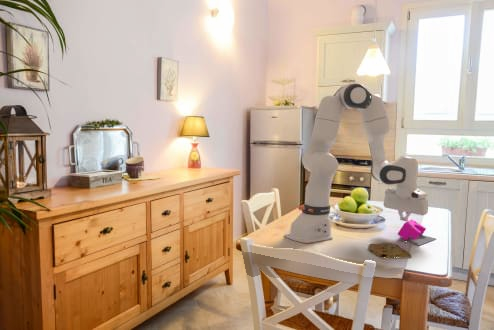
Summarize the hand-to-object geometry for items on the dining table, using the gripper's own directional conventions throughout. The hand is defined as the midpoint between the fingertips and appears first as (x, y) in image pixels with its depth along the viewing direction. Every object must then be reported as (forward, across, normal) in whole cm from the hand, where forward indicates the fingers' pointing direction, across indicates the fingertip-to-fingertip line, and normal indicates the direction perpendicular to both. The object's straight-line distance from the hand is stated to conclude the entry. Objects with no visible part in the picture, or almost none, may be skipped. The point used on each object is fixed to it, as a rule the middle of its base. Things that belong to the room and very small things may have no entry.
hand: (403, 220), depth 185 cm
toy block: (+2, +1, -1) cm, 3 cm away
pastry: (+8, +8, -26) cm, 29 cm away
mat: (+7, +8, 0) cm, 11 cm away
